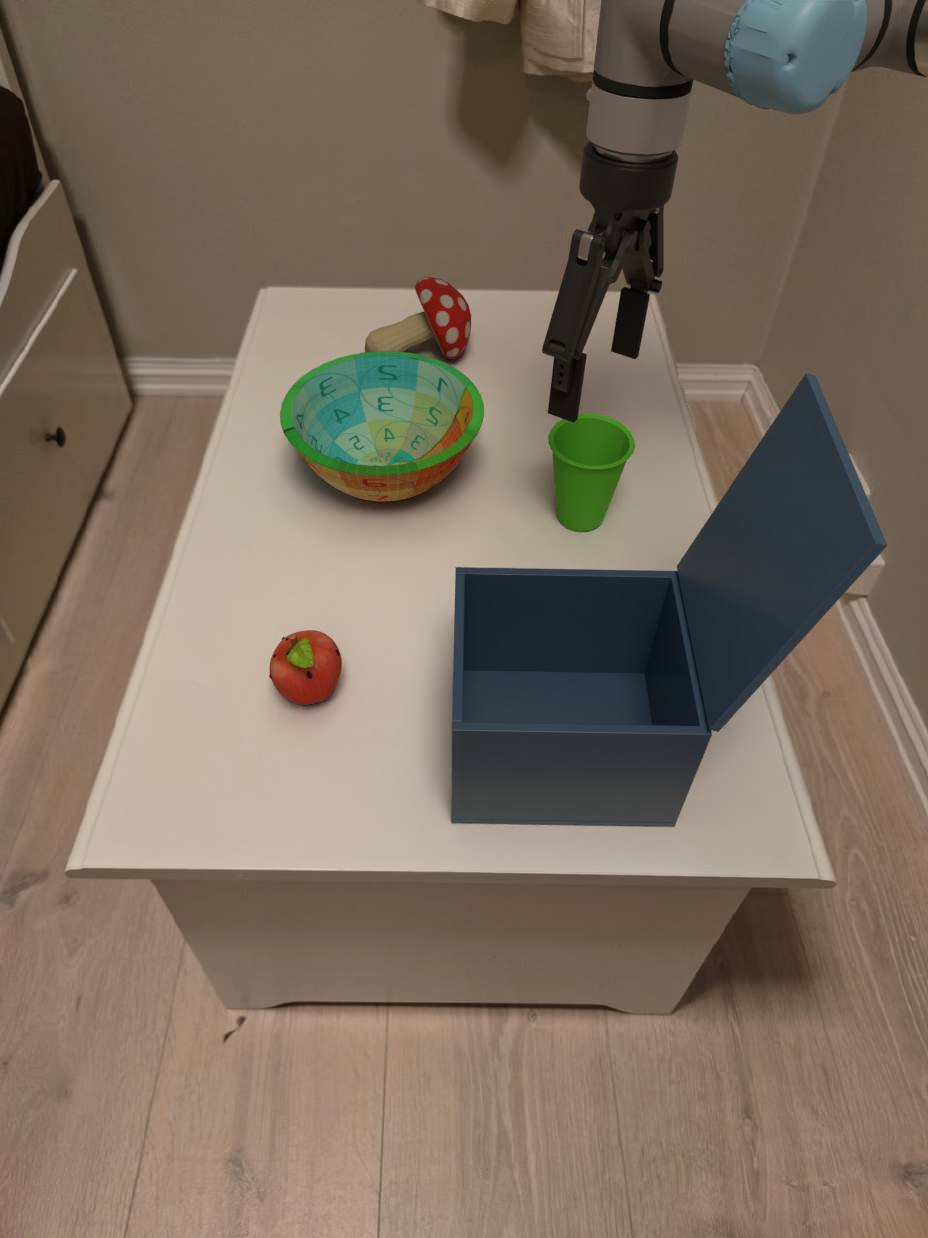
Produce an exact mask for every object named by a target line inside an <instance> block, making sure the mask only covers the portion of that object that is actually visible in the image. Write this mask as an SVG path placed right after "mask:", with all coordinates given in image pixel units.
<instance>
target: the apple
mask: <svg viewBox="0 0 928 1238" xmlns="http://www.w3.org/2000/svg"><path fill="white" fill-rule="evenodd" d="M341 654H342V653H341V651H340V649H339V646H338V645H337V643H336V642H335V641H334V639H333V638H332V637H330V636H329V635H328V634H326V632H322V631H320V630H315V629H305V630H301V631H296V632H293V633H290V634H288V635H286V636H283V637H281V640H280V642H279V643H278V644H277V645H276V647H275V649H274V651H273V652H272V655H271V658H270V660H269V661H270V662H269V675H268V676H269V679H270V680H271V682H272V684H273V686H274V688H275V689H276V691H277V692H278V693H280V694H281V695H282V696H284V697H285V698H286V699H287V700H289V701H290V702H292V703H294V704H296V705H298V706H299V705H300V706H306V705H307V706H308V705H313V704H317V703H321V702H325V701H327V700H329V698H330V696H331V695H332V694H333V692H334V690H335V689H336V687H337V685H338V683H339V680H340V677H341V674H342V667H343V666H342V665H343V663H342V661H343V660H342V655H341Z"/></svg>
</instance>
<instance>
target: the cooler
mask: <svg viewBox="0 0 928 1238" xmlns="http://www.w3.org/2000/svg"><path fill="white" fill-rule="evenodd" d="M454 573H455V576H454V577H455V578H454V579H455V580H454V616H453V617H454V618H453V619H454V620H453V622H454V623H453V625H454V626H453V657H452V658H453V662H452V663H453V664H452V699H451V701H452V707H451V777H450V778H451V779H450V780H451V781H450V782H451V784H450V787H451V789H450V790H451V791H450V792H451V794H450V795H451V799H450V801H451V804H450V805H451V806H450V810H451V811H450V823H451V824H469V825H471V824H473V825H476V824H480V825H482V824H483V825H539V826H541V825H542V826H543V825H544V826H593V827H594V826H595V827H596V826H598V827H601V826H604V827H605V826H606V827H656V828H657V827H659V828H661V827H662V828H664V827H665V828H674V827H675V826H676V825H677V821H678V819H679V816H680V814H681V812H682V810H683V807H684V804H685V802H686V800H687V797H688V794H689V792H690V790H691V788H692V785H693V783H694V780H695V778H696V775H697V772H698V770H699V769H700V765H701V763H702V760H703V758H704V756H705V754H706V751H707V748H708V746H709V743H710V741H711V738H712V736H713V732H712V731H711V730H709V726H708V721H707V716H706V711H705V706H704V701H703V696H702V691H701V686H700V681H699V676H698V671H697V666H696V661H695V656H694V651H693V646H692V641H691V636H690V631H689V626H688V621H687V616H686V611H685V606H684V601H683V596H682V591H681V586H680V581H679V576H678V571H677V570H645V569H644V570H642V569H641V570H640V569H638V570H637V569H633V570H632V569H590V568H587V569H585V568H584V569H583V568H533V567H532V568H531V567H530V568H527V567H526V568H525V567H473V566H470V567H468V566H467V567H465V566H457V567H455V572H454Z"/></svg>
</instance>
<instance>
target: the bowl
mask: <svg viewBox="0 0 928 1238" xmlns="http://www.w3.org/2000/svg"><path fill="white" fill-rule="evenodd" d="M484 417H485V404H484V400H483V398H482V394H481V393H480V391H479V389H478V387H477V386H476V385H475V384H474V383H473V381H472V380H471V379H470V378H469V377H468V376H466V375H465V374H464V373H463V372H462V371H460V370H459V369H457V368H455V367H454V366H452V365H450V364H449V363H446V362H444V361H442V360H440V359H437V358H433V357H431V356H426V355H424V354H420V353H419V354H418V353H413V352H408V351H404V352H397V351H376V352H366V351H363V352H359V353H352V354H349V355H344V356H341V357H337V358H335V359H332V360H329V361H327V362H324V363H322V364H319V365H318V366H316V367H314V368H312V369H310V370H309V371H308V372H307V373H305V374H303V375H302V376H301V377H300V378H299V379H297V380H296V382H295V383H293V384H292V385H291V387H290V388H289V389H288V391H287V392H286V393H285V396H284V398H283V400H282V402H281V406H280V411H279V420H280V422H279V423H280V426H281V430H282V432H283V434H284V436H285V438H286V440H287V441H288V442H289V444H290V446H291V447H293V448H294V449H295V450H296V452H297V453H298V455H299V456H300V457H301V458H302V460H304V461H305V462H306V463H307V464H308V466H309V467H310V468H311V470H313V471H314V473H315V474H316V475H317V476H318V477H320V478H321V479H322V480H323V481H325V482H326V483H327V484H329V485H330V486H331V487H333V488H335V489H336V490H338V491H340V492H342V493H344V494H347V495H349V496H351V497H354V498H357V499H361V500H366V501H373V502H395V501H401V500H406V499H410V498H413V497H416V496H419V495H421V494H423V493H425V492H427V491H429V490H431V489H432V488H433V487H435V486H436V485H438V484H440V483H441V482H442V481H443V480H444V479H446V478H447V477H448V475H450V473H451V472H453V470H454V469H455V468H456V467H457V465H458V464H459V463H460V462H461V460H462V458H463V456H464V454H465V453H466V452H467V451H468V450H469V448H470V446H471V445H472V443H473V441H474V440H475V438H476V437H477V436H478V434H479V432H480V430H481V428H482V425H483V423H484Z"/></svg>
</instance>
